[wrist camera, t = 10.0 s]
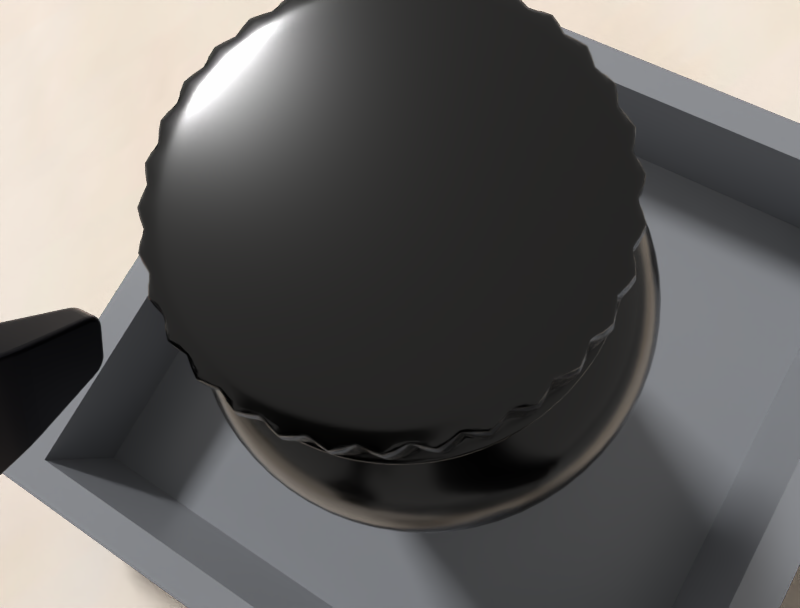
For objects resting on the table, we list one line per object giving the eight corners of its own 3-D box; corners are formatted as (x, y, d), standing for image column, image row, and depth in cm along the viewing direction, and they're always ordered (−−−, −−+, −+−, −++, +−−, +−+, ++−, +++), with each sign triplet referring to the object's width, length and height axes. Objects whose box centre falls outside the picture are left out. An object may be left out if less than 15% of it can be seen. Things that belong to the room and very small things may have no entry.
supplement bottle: (556, 525, 16) (713, 724, 5) (300, 460, 17) (-81, 491, 6) (603, 264, 17) (820, -94, 6) (360, 221, 19) (140, -147, 7)
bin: (599, 821, 15) (629, 928, 12) (89, 467, 19) (0, 472, 16) (878, 243, 17) (973, 193, 14) (366, 21, 21) (341, -62, 17)
